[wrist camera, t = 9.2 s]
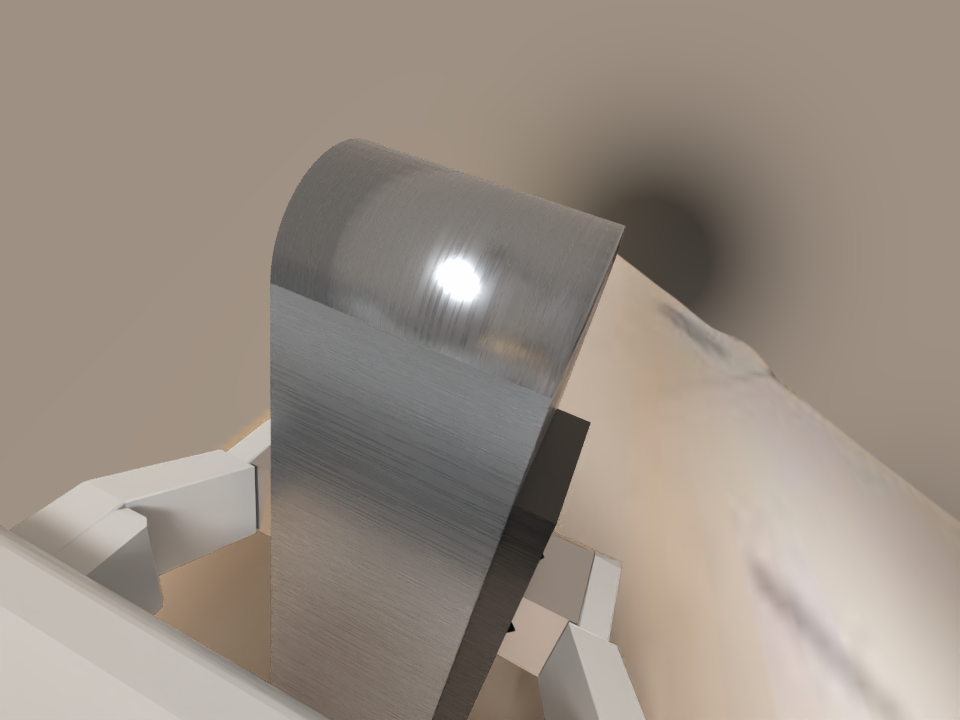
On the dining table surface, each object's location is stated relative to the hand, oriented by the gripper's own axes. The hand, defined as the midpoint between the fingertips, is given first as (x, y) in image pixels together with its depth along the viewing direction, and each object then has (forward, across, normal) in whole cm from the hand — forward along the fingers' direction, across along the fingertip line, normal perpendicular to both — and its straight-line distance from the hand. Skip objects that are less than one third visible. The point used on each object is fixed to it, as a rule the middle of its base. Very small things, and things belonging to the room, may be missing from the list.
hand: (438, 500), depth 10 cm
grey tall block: (-1, 0, +7) cm, 7 cm away
